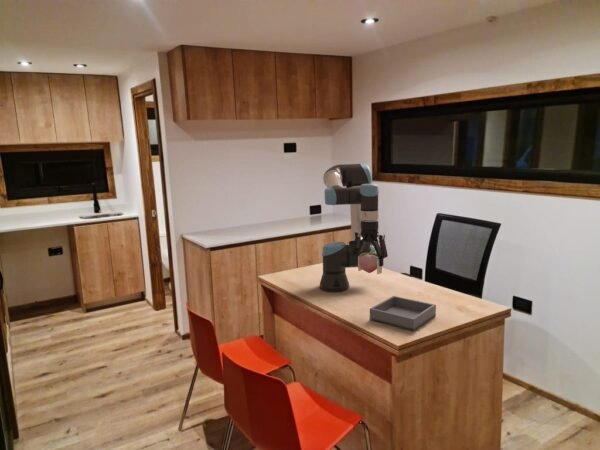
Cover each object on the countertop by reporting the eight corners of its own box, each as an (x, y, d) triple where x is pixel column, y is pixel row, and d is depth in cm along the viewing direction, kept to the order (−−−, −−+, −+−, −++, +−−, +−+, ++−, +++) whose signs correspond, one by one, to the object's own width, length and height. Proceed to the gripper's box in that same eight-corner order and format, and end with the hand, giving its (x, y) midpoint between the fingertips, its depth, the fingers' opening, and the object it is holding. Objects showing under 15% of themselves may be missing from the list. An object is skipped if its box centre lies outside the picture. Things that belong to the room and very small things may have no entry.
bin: (369, 320, 190) (369, 308, 189) (393, 306, 205) (393, 295, 204) (413, 331, 177) (413, 319, 176) (435, 316, 192) (435, 304, 191)
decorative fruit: (377, 269, 201) (377, 247, 200) (382, 274, 193) (382, 251, 192) (356, 270, 201) (356, 248, 199) (360, 276, 192) (360, 253, 191)
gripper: (343, 219, 198) (344, 269, 201) (386, 223, 183) (387, 277, 187) (353, 217, 203) (354, 266, 206) (396, 221, 188) (396, 273, 192)
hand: (369, 271), depth 197 cm, fingers closed on decorative fruit, 9 cm apart
